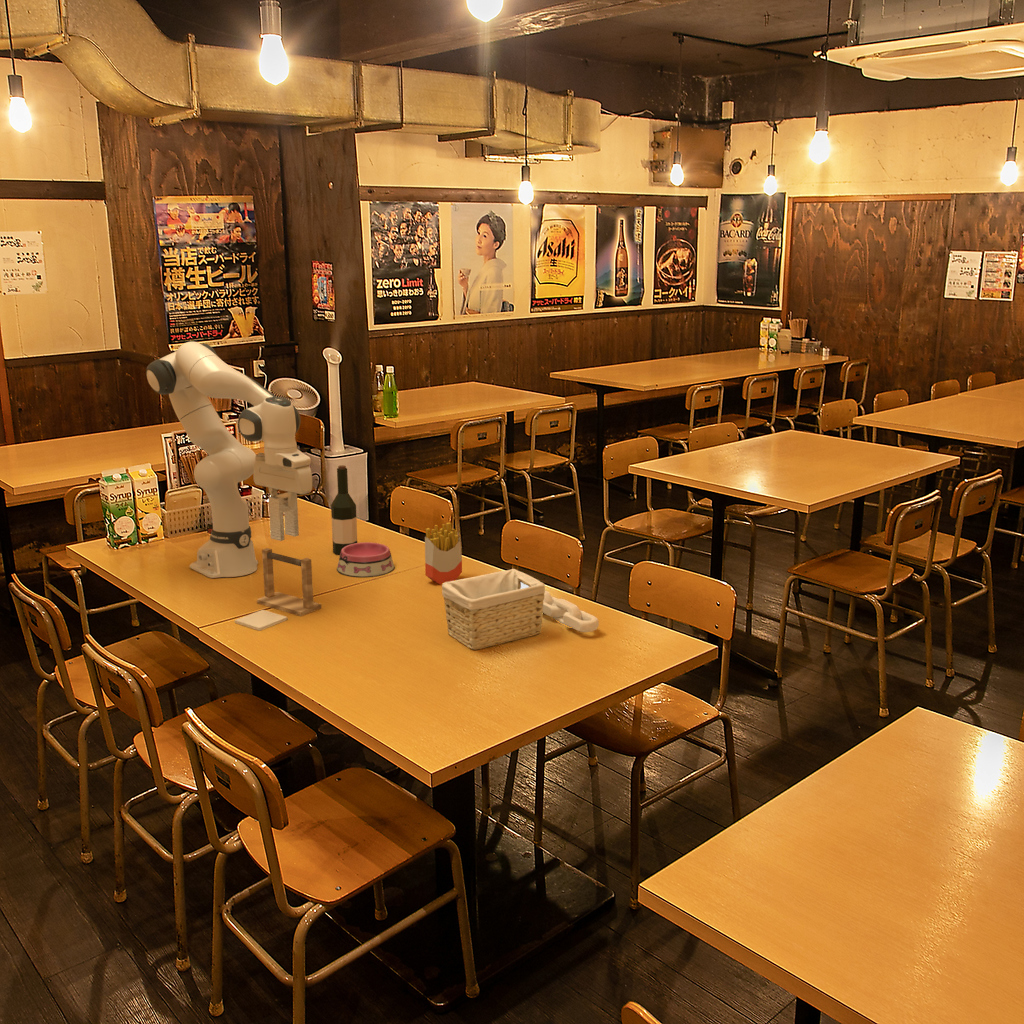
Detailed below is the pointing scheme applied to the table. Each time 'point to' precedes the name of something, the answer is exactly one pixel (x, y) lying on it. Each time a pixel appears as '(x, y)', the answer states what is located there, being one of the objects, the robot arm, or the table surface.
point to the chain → (569, 614)
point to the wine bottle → (343, 514)
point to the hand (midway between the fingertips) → (283, 504)
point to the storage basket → (493, 608)
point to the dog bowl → (365, 560)
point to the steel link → (276, 517)
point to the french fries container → (443, 554)
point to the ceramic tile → (261, 620)
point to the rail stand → (284, 600)
